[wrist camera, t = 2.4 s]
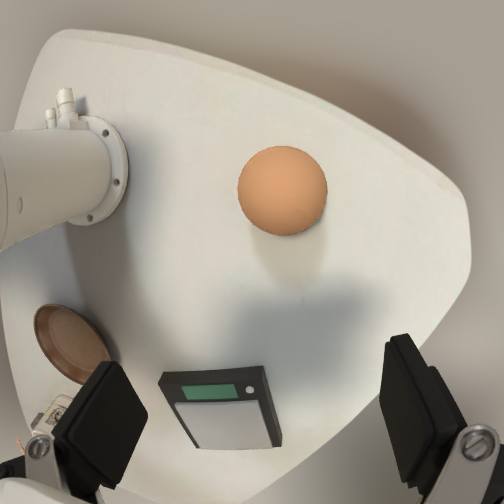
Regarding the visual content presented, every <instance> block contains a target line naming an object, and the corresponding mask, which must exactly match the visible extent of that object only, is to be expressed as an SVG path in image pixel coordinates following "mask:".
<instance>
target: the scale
mask: <svg viewBox="0 0 504 504" xmlns="http://www.w3.org/2000/svg"><path fill="white" fill-rule="evenodd" d="M158 385H159V387H160V389H161V391H162V392H163V394H164V396H165V398H166V400H167V401H168V403H169V405H170V407H171V408H172V410H173V412H174V413H175V415H176V417H177V418H178V420H179V422H180V423H181V425H182V427H183V428H184V430H185V431H186V433H187V434H188V436H189V438H190V439H191V441H192V442H193V444H194V445H195V447H196V448H201V449H209V450H246V449H267V448H273V447H281V446H282V434H281V430H280V427H279V423H278V420H277V416H276V412H275V409H274V405H273V401H272V397H271V394H270V390H269V386H268V383H267V379H266V375H265V371H264V368H263V366H255V367H245V368H234V369H222V370H207V371H186V372H163V374H162V376H161V378H160V380H159V382H158Z"/></svg>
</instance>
